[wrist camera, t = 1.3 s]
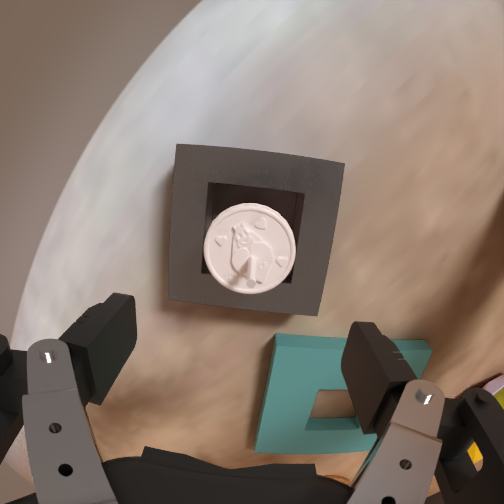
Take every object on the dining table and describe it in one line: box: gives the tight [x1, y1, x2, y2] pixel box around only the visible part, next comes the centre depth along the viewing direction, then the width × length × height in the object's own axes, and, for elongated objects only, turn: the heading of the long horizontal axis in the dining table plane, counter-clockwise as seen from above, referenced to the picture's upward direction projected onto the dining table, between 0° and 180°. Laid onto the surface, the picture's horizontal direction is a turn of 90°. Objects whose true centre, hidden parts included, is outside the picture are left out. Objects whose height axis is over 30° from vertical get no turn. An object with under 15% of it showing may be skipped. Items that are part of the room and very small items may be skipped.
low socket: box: [254, 334, 433, 454], centre depth 35 cm, size 20×20×2 cm
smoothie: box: [204, 203, 296, 294], centre depth 23 cm, size 6×6×14 cm
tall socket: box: [168, 144, 345, 316], centre depth 28 cm, size 14×14×4 cm
